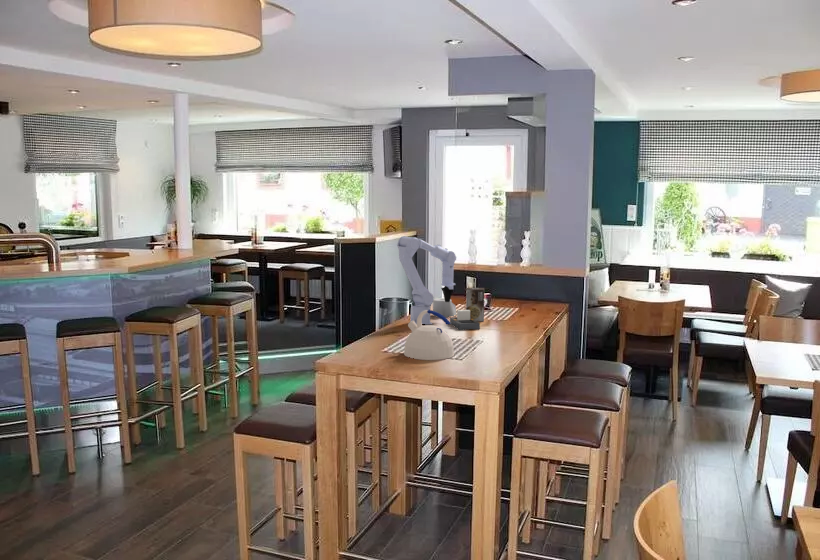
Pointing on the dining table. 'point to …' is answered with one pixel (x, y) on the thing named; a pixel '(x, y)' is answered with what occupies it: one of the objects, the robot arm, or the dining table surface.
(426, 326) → the kettle
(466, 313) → the panel
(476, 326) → the rack
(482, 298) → the coffee box
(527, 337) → the dining table surface
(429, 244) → the robot arm
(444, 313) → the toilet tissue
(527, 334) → the dining table surface
